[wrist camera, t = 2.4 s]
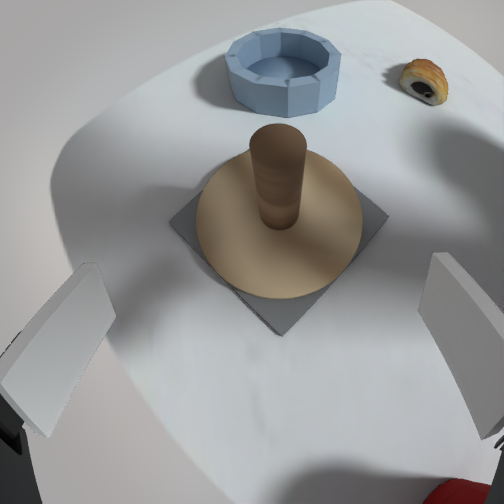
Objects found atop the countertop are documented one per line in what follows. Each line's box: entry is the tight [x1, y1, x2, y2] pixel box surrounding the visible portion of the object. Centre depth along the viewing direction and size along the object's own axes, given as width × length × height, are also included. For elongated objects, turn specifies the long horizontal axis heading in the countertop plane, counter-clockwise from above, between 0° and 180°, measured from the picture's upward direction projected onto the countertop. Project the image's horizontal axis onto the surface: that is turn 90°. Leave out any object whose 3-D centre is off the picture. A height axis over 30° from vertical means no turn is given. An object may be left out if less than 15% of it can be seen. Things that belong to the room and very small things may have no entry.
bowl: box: [225, 28, 341, 118], centre depth 29 cm, size 12×12×4 cm
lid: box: [196, 124, 363, 300], centre depth 21 cm, size 14×14×10 cm
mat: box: [169, 186, 389, 336], centre depth 25 cm, size 14×14×1 cm
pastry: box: [399, 59, 448, 105], centre depth 29 cm, size 9×7×4 cm
